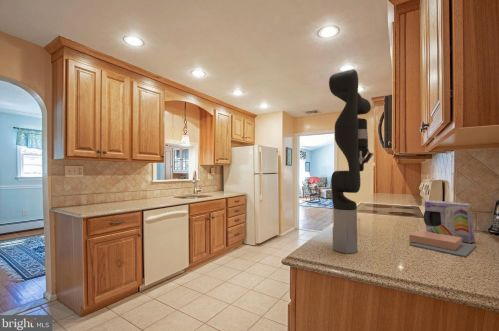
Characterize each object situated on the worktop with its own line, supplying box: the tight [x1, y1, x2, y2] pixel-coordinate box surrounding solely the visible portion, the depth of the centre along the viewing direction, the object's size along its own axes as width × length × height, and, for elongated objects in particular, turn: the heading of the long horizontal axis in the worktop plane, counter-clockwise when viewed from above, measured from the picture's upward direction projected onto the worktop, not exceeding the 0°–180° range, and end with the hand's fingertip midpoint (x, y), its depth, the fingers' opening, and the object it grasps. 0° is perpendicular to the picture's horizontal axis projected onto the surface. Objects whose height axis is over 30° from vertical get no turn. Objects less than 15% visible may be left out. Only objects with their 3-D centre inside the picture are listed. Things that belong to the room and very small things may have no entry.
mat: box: [409, 242, 477, 258], centre depth 102 cm, size 20×18×1 cm
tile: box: [408, 230, 463, 251], centre depth 104 cm, size 12×3×16 cm
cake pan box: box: [423, 200, 476, 244], centre depth 115 cm, size 19×5×18 cm, turn 23°
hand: (360, 171), depth 124 cm, fingers closed
